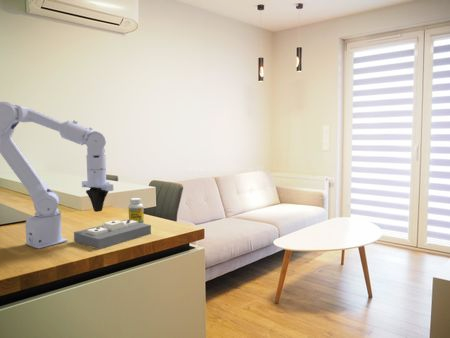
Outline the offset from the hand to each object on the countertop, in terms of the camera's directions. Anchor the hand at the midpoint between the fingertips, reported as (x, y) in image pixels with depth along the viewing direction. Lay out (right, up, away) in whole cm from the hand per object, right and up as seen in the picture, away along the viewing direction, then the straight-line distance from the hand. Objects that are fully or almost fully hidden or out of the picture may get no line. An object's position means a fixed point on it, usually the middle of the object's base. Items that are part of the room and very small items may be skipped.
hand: (98, 211), depth 115 cm
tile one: (+5, -7, 0) cm, 8 cm away
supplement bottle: (+8, -7, +18) cm, 21 cm away
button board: (+5, -9, +1) cm, 10 cm away
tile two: (+1, -8, -4) cm, 9 cm away
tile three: (+8, -7, +5) cm, 12 cm away
